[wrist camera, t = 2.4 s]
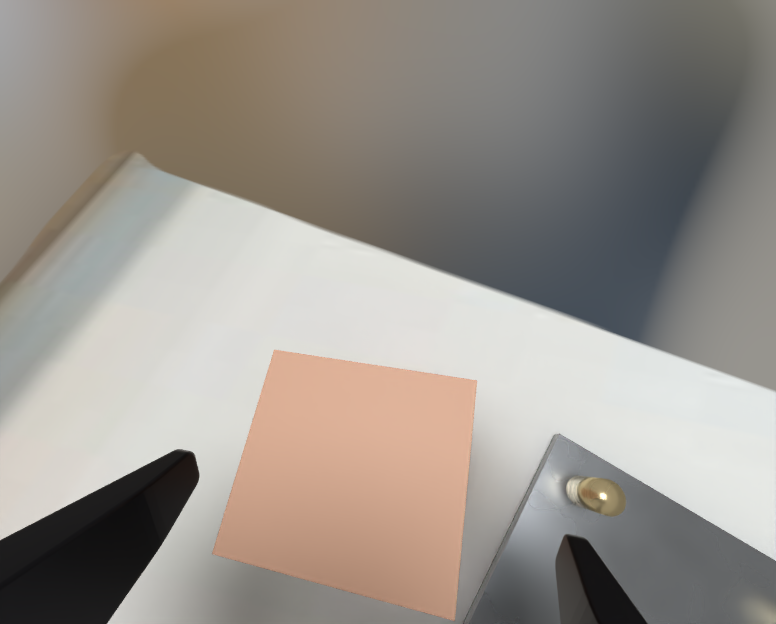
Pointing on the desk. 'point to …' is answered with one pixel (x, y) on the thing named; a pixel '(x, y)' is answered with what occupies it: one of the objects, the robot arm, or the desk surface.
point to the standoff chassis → (622, 550)
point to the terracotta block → (355, 480)
